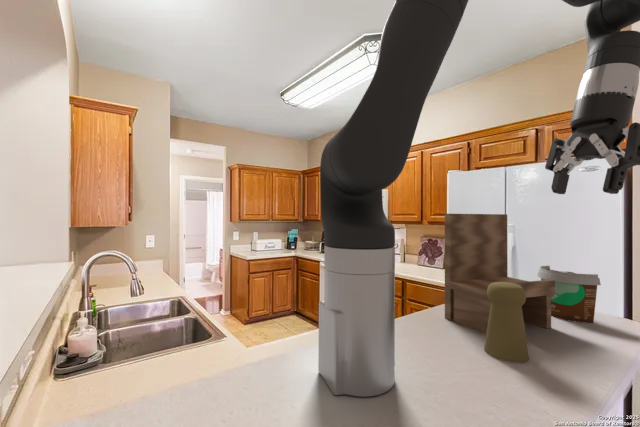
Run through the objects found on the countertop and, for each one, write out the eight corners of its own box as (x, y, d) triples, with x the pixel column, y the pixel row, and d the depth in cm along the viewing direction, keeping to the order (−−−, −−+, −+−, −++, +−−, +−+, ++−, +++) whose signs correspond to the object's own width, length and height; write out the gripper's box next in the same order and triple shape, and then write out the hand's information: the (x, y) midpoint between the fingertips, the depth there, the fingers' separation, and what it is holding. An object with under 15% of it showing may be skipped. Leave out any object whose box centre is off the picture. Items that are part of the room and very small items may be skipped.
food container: (523, 307, 71) (523, 265, 71) (547, 307, 72) (547, 265, 72) (573, 326, 59) (572, 275, 59) (601, 325, 60) (600, 274, 60)
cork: (528, 367, 43) (528, 289, 43) (480, 355, 46) (480, 283, 46) (530, 352, 47) (530, 282, 48) (487, 342, 51) (487, 277, 51)
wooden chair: (492, 338, 53) (492, 212, 53) (444, 317, 63) (444, 213, 64) (555, 328, 58) (554, 214, 58) (501, 310, 69) (500, 214, 69)
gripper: (547, 106, 57) (528, 189, 58) (637, 76, 43) (611, 186, 44) (579, 116, 59) (560, 198, 59) (676, 91, 45) (651, 198, 45)
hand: (582, 193), depth 51 cm, fingers open, 8 cm apart
